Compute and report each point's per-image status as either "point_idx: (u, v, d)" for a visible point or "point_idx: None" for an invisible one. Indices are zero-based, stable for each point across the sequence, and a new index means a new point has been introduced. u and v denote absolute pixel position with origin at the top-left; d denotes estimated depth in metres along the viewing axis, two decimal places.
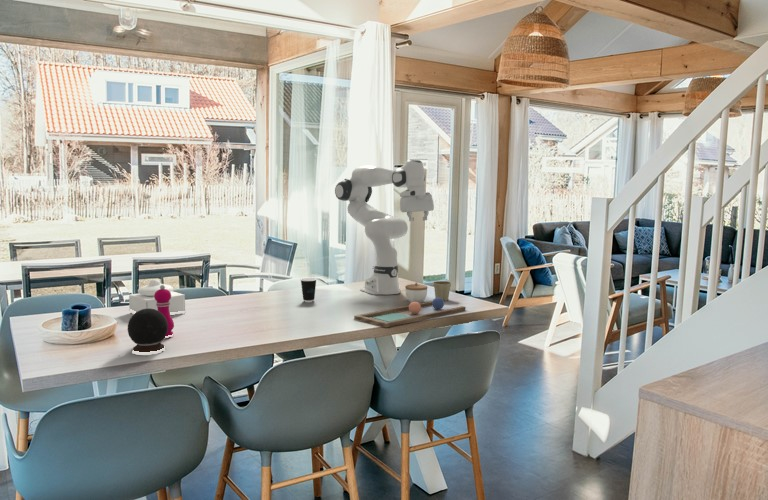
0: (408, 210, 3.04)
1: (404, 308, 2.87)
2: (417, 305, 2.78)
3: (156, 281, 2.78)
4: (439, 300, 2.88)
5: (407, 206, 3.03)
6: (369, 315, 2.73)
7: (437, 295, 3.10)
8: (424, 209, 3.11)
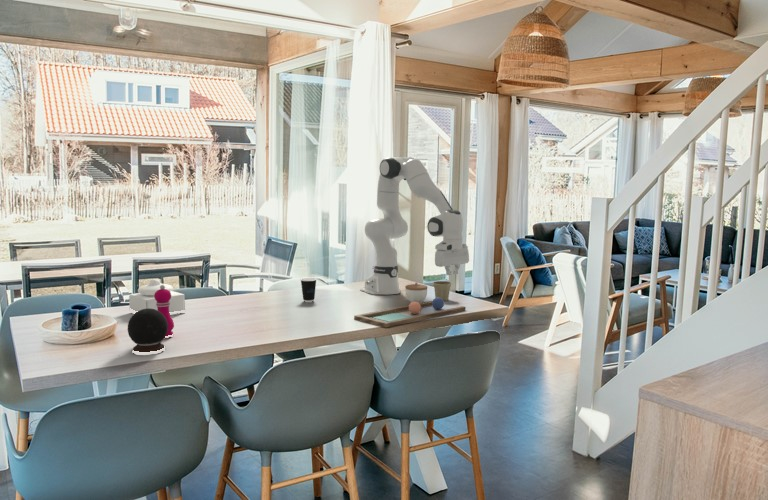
0: (443, 265, 2.88)
1: (404, 308, 2.87)
2: (417, 305, 2.78)
3: (156, 281, 2.79)
4: (439, 300, 2.88)
5: (442, 261, 2.87)
6: (369, 315, 2.73)
7: (437, 295, 3.10)
8: (459, 262, 2.95)
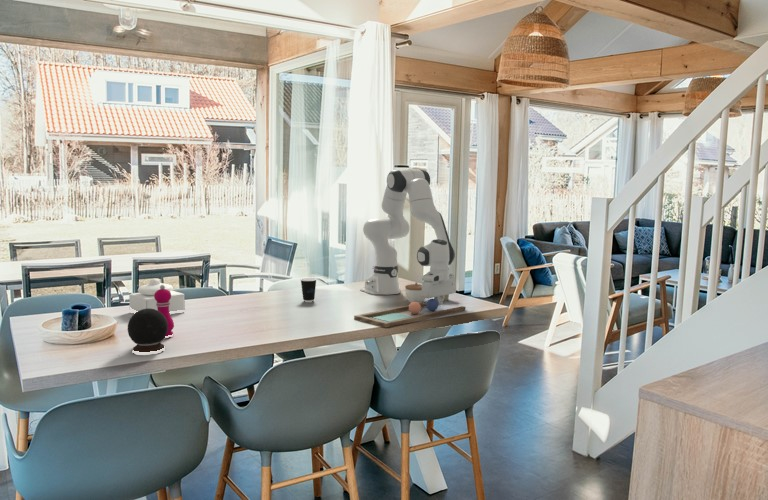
0: (430, 296, 2.83)
1: (404, 308, 2.87)
2: (417, 305, 2.78)
3: (156, 280, 2.80)
4: (432, 307, 2.84)
5: (429, 292, 2.82)
6: (369, 315, 2.73)
7: None
8: (446, 293, 2.90)
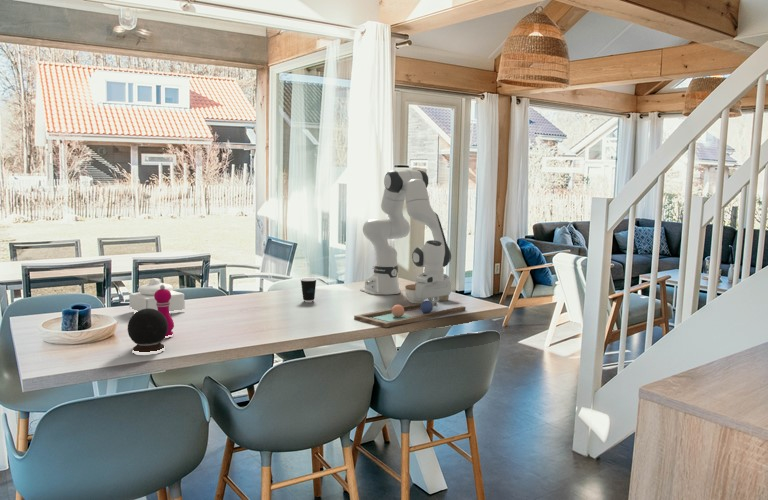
0: (424, 298, 2.81)
1: (404, 308, 2.87)
2: None
3: (156, 280, 2.80)
4: None
5: (423, 294, 2.80)
6: (369, 315, 2.73)
7: None
8: (441, 294, 2.88)
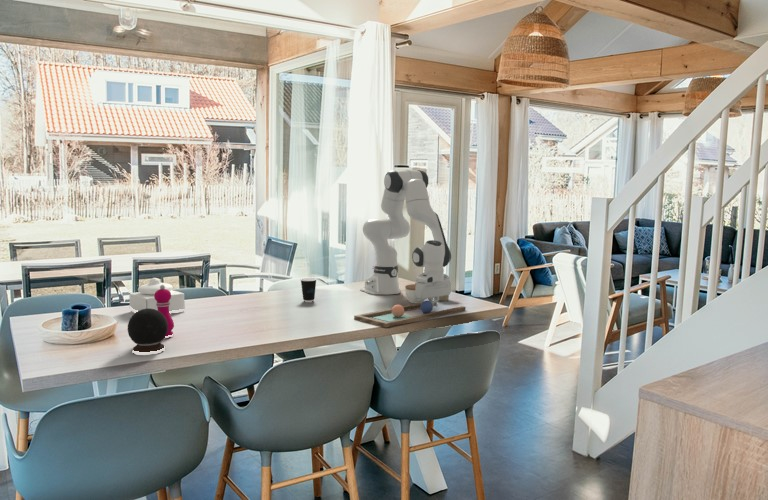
0: (424, 298, 2.81)
1: (404, 308, 2.87)
2: None
3: (156, 280, 2.81)
4: None
5: (423, 294, 2.80)
6: (369, 315, 2.73)
7: None
8: (441, 294, 2.88)
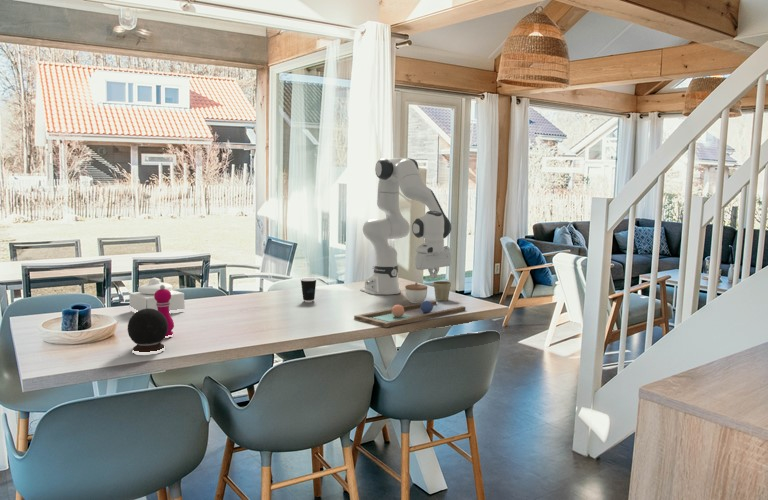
0: (424, 268, 2.80)
1: (404, 308, 2.87)
2: None
3: (156, 280, 2.81)
4: None
5: (423, 264, 2.79)
6: (369, 315, 2.73)
7: (437, 295, 3.10)
8: (441, 265, 2.87)
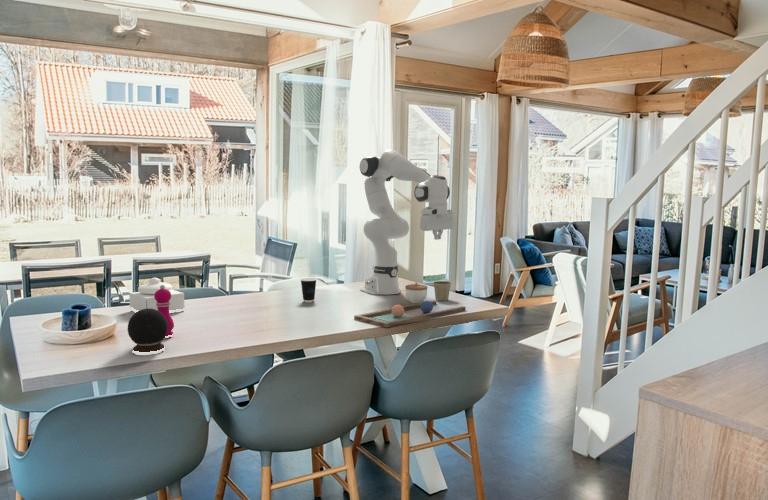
0: (428, 229, 2.92)
1: (404, 308, 2.87)
2: None
3: (156, 279, 2.82)
4: None
5: (428, 225, 2.91)
6: (369, 315, 2.73)
7: (437, 295, 3.10)
8: (444, 227, 2.99)
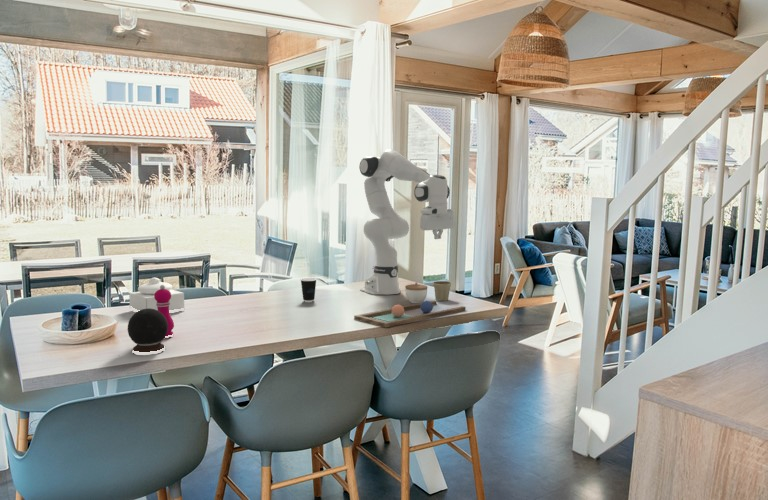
0: (428, 229, 2.92)
1: (404, 308, 2.87)
2: None
3: (156, 279, 2.82)
4: None
5: (428, 224, 2.91)
6: (369, 315, 2.73)
7: (437, 295, 3.10)
8: (444, 227, 2.99)
